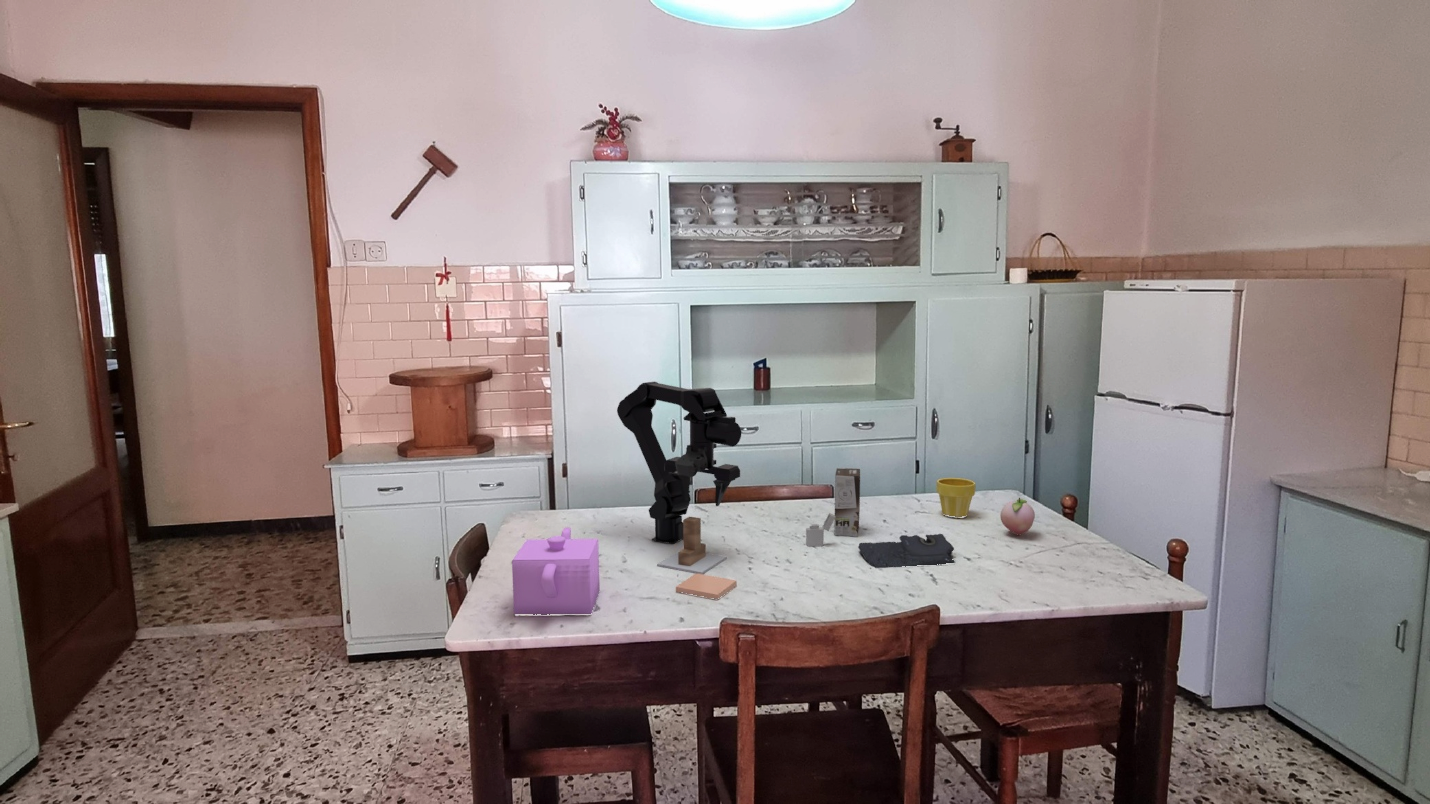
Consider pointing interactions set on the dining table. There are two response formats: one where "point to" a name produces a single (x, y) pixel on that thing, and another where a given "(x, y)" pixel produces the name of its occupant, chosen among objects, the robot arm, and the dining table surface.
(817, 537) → the lighter
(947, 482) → the plant pot
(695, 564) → the mat
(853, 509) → the coffee box
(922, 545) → the dark grey folded shirt
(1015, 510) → the decorative fruit
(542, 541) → the teapot
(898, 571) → the dining table surface
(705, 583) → the tile
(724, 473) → the robot arm
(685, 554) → the brown stepped wooden block
